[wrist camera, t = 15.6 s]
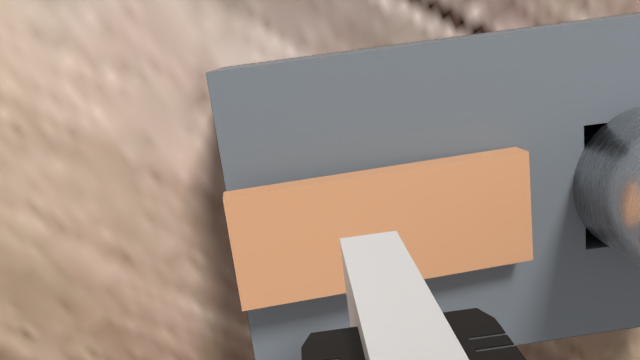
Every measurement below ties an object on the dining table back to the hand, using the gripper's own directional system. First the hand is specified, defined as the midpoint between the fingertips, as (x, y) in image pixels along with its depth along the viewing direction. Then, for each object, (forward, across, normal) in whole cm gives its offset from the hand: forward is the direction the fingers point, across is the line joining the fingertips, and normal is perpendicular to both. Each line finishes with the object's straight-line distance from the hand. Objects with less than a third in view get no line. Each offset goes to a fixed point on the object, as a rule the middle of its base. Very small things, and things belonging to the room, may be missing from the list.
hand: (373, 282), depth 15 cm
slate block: (+12, -6, 0) cm, 13 cm away
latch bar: (+5, -1, 0) cm, 6 cm away
